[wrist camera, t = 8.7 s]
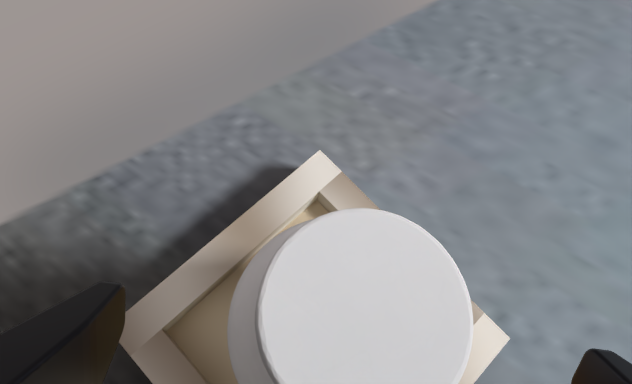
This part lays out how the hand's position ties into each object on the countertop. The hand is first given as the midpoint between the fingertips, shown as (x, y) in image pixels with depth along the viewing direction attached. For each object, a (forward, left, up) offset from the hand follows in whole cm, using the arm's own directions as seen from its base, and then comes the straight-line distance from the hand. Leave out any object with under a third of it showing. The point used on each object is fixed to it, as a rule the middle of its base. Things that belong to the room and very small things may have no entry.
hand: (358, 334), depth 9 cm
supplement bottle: (0, 0, -9) cm, 9 cm away
